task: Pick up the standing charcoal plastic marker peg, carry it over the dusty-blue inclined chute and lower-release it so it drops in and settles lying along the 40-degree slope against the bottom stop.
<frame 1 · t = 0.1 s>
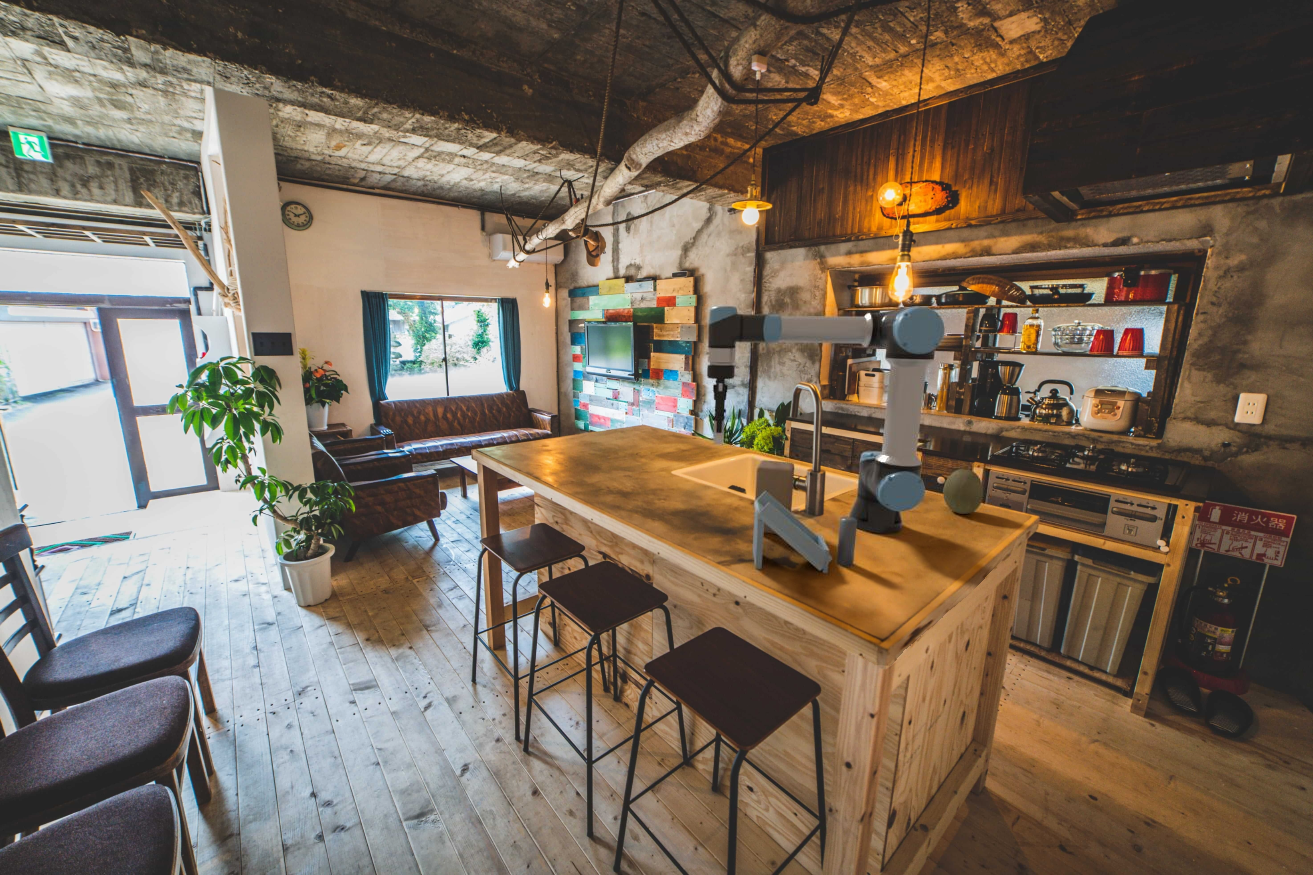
hand: (718, 439, 145), 28 cm above the table, fingers open, 13 cm apart
peg: (844, 563, 131), on the table
wooden block: (772, 529, 154), on the table
fruit: (960, 513, 170), on the table
chute: (785, 561, 132), on the table
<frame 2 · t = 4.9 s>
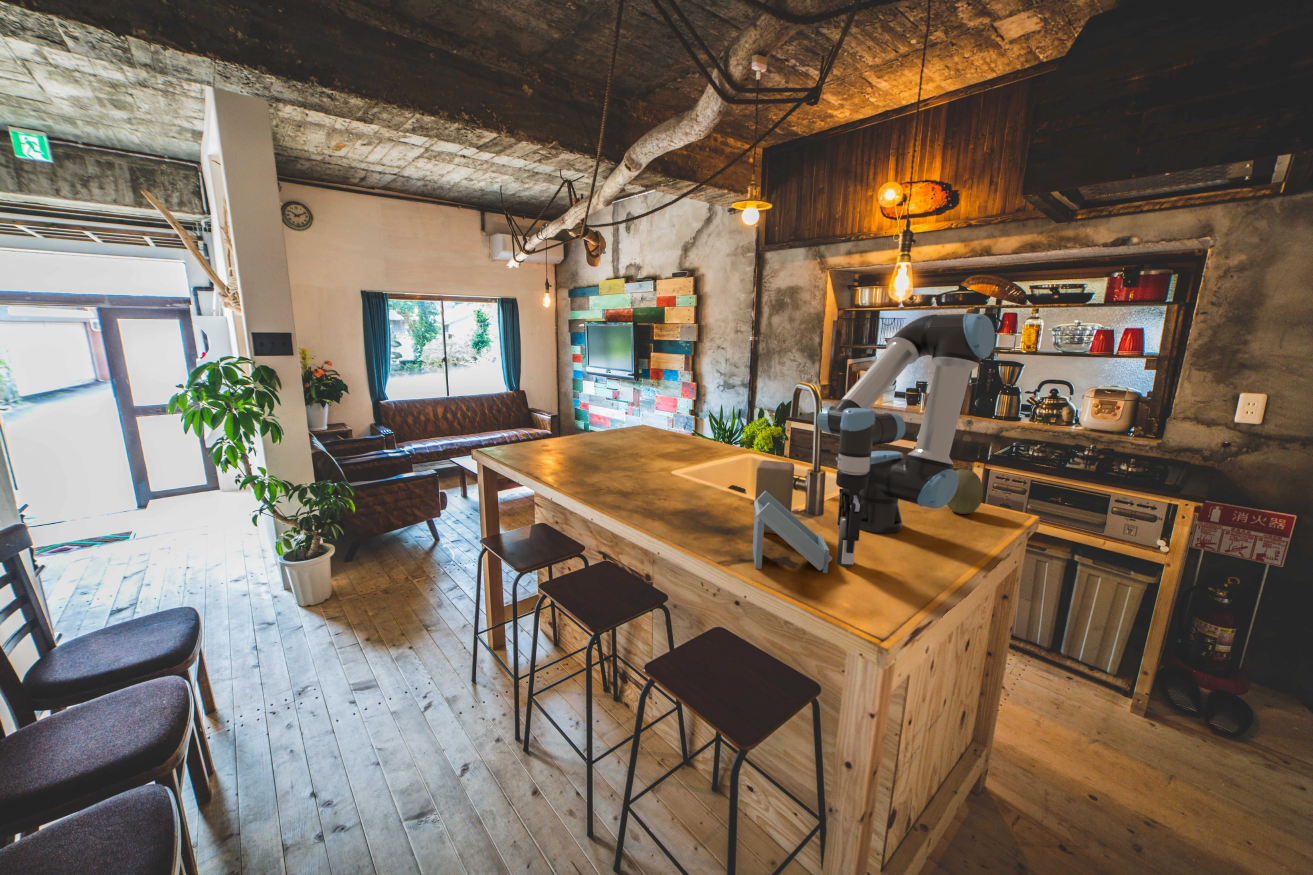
hand: (845, 559, 131), 1 cm above the table, fingers closed on peg, 4 cm apart
peg: (844, 563, 131), on the table, touching gripper
everything else where it was.
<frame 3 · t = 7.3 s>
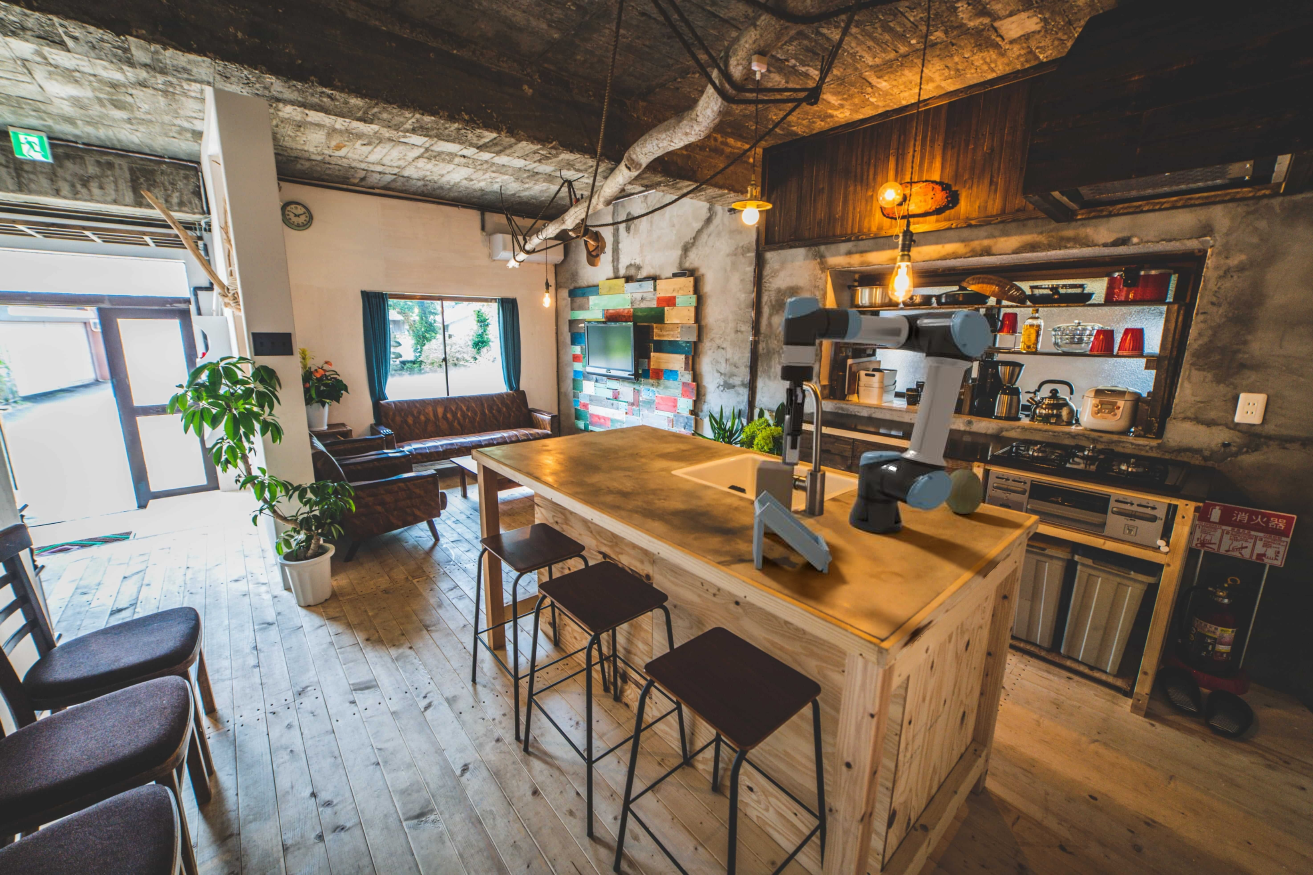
hand: (790, 459, 126), 27 cm above the table, fingers closed on peg, 4 cm apart
peg: (790, 463, 126), point 26 cm above the table, touching gripper
everything else where it was.
when the fingers open (16 cm above the table, at t = 9.7 s): peg drops 5 cm and tips over, resting on chute.
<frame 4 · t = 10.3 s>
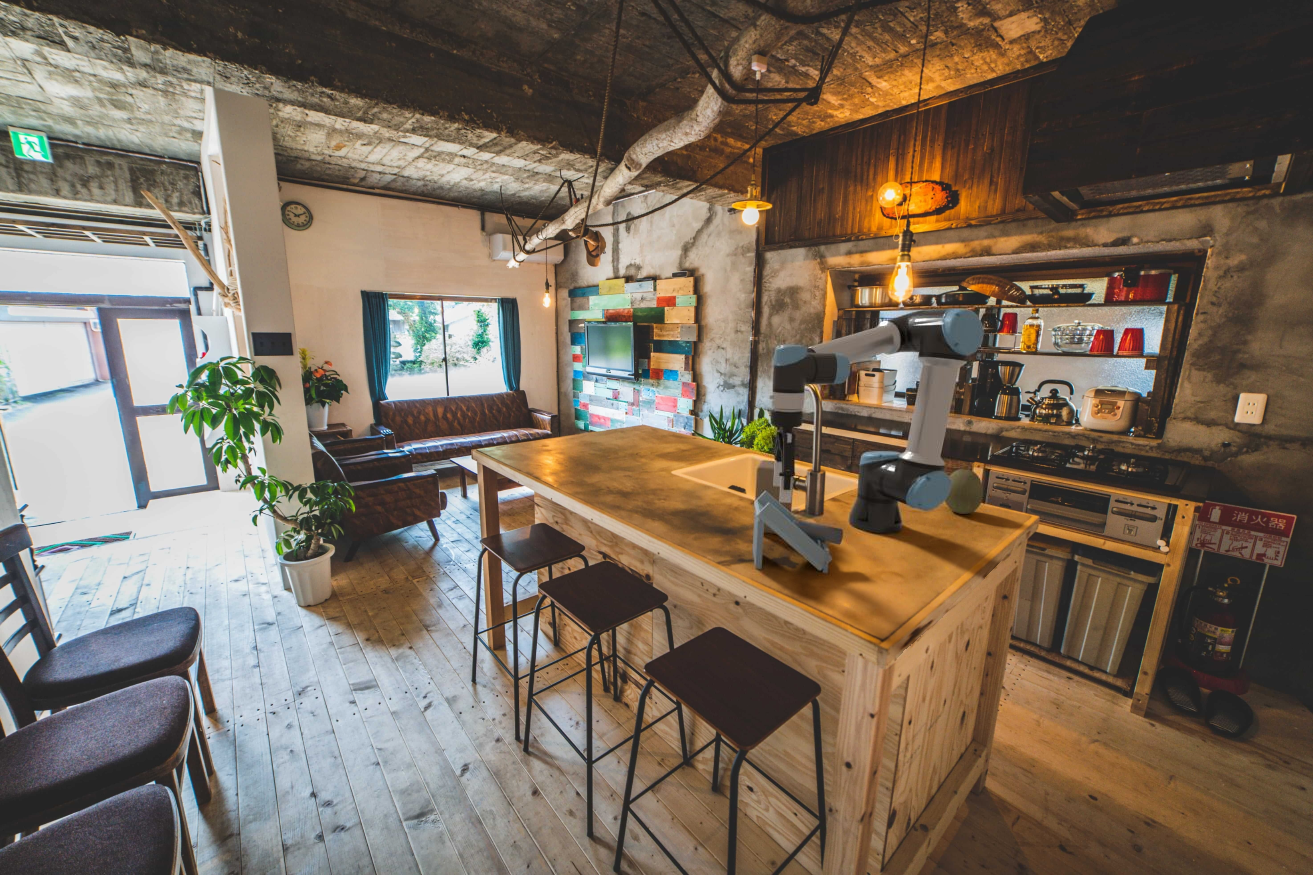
hand: (781, 493, 128), 18 cm above the table, fingers open, 13 cm apart
peg: (793, 526, 130), point 10 cm above the table, tilted 100°, touching chute
everything else where it was.
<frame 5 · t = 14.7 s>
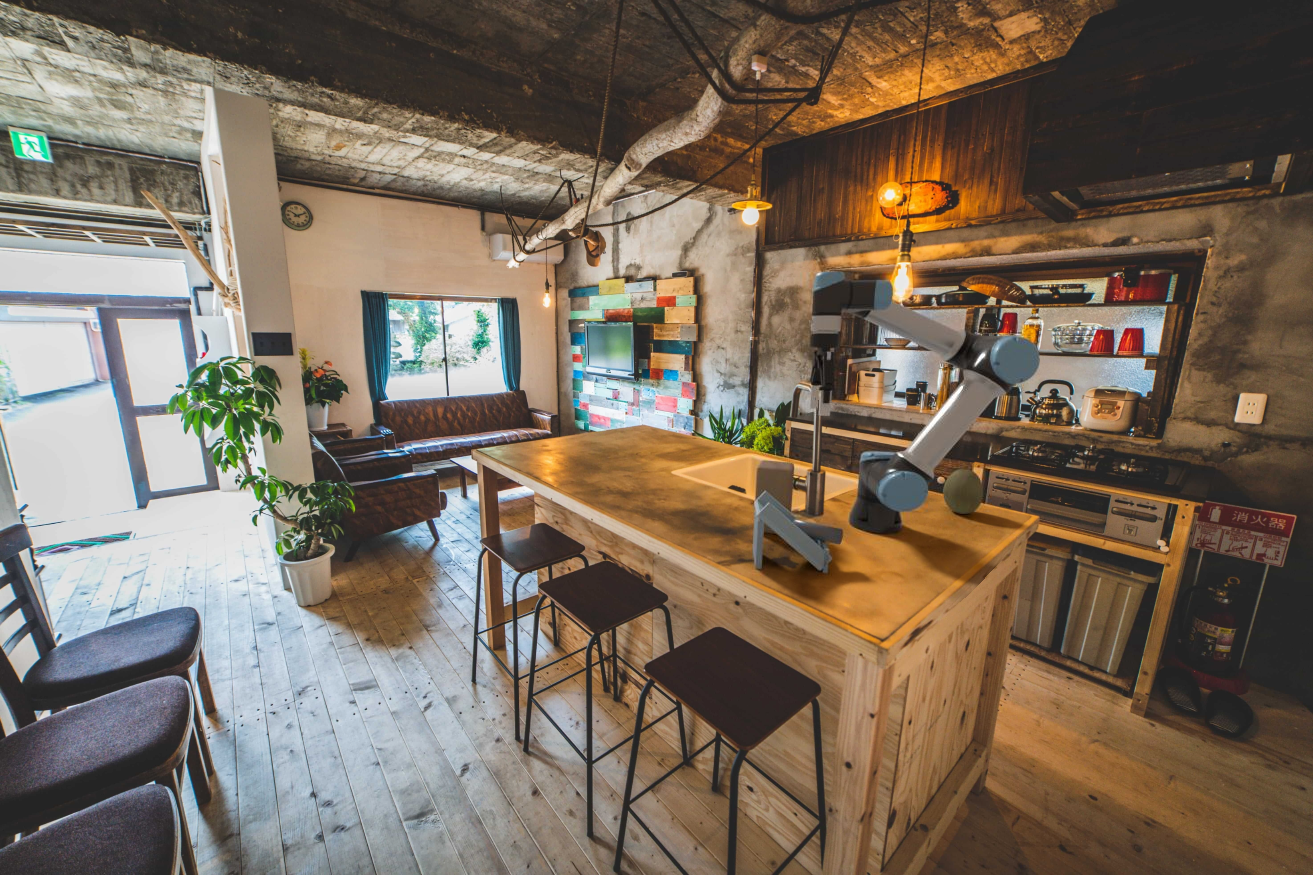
hand: (819, 412, 140), 37 cm above the table, fingers open, 13 cm apart
nothing on the table moved.
at the end: peg inside the target area on the chute (0.9 cm from its centre), point 9.5 cm above the chute's base; peg tilted 100° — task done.
